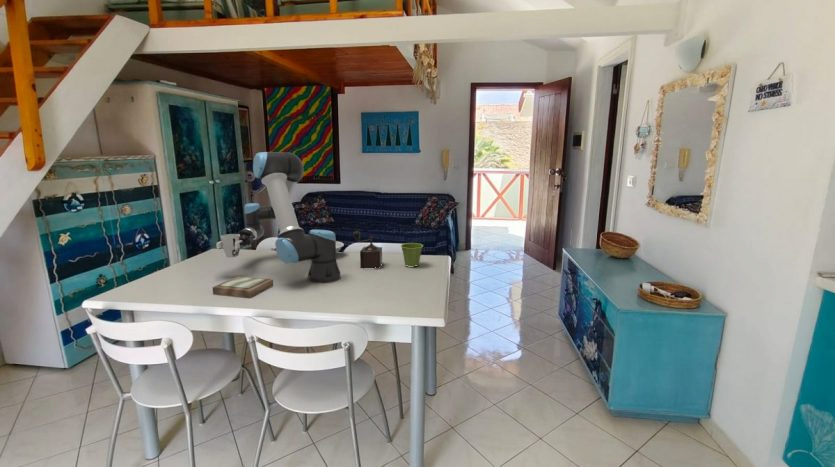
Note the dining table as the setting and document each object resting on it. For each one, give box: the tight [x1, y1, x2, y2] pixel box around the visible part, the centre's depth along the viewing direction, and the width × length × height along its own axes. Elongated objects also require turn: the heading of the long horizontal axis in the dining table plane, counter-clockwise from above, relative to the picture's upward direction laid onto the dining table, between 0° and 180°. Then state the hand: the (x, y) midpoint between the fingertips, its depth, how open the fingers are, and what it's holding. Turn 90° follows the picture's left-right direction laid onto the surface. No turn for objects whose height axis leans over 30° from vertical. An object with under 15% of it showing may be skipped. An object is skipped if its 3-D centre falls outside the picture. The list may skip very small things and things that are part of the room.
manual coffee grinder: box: [352, 230, 383, 269], centre depth 208 cm, size 16×11×18 cm
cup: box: [220, 233, 241, 258], centre depth 186 cm, size 8×8×10 cm
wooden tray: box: [211, 275, 274, 299], centre depth 171 cm, size 18×16×3 cm
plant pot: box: [400, 242, 424, 266], centre depth 209 cm, size 12×12×11 cm
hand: (226, 245), depth 181 cm, fingers closed on cup, 8 cm apart
